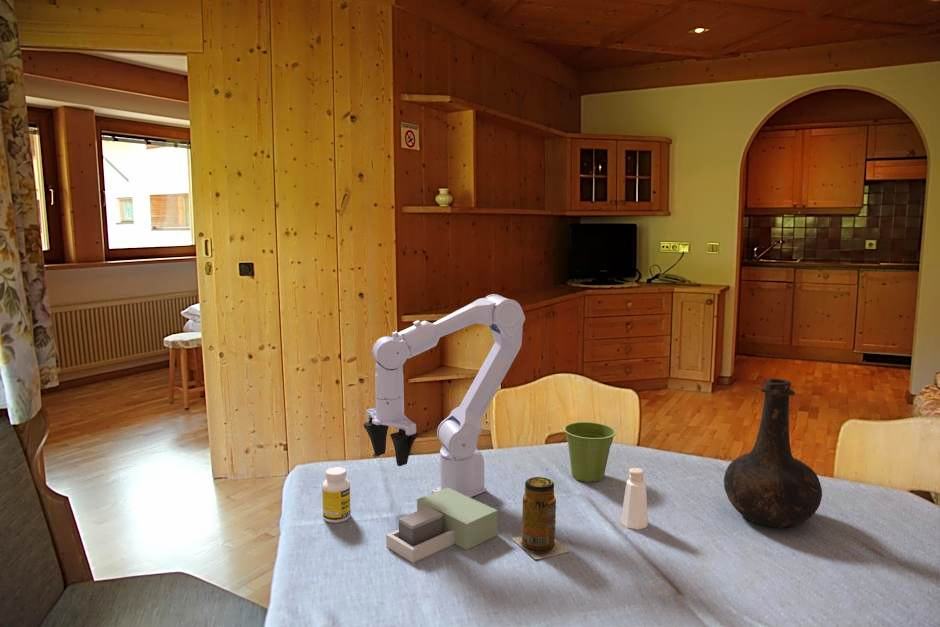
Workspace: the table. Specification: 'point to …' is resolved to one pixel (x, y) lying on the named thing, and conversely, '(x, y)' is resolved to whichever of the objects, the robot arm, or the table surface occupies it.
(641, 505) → the salt shaker
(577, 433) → the plant pot
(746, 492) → the glass bottle
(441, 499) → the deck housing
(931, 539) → the table surface
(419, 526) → the grey rectangular block
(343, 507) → the supplement bottle
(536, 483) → the condiment
